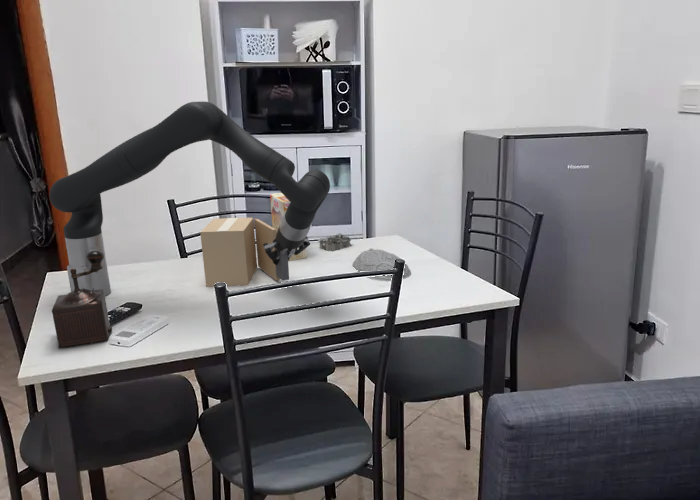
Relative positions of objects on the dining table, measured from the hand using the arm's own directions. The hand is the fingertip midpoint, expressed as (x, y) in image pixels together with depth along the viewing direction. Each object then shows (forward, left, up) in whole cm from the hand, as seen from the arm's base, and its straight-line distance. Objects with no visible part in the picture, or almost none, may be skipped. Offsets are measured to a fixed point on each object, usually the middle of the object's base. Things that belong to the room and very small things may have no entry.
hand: (279, 261), depth 166 cm
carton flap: (+4, +5, -6) cm, 9 cm away
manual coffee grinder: (-44, +29, -7) cm, 53 cm away
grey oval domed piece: (+20, -24, -7) cm, 32 cm away
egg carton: (+39, -1, -7) cm, 39 cm away
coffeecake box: (+27, +10, -7) cm, 30 cm away
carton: (+1, +16, -6) cm, 18 cm away
